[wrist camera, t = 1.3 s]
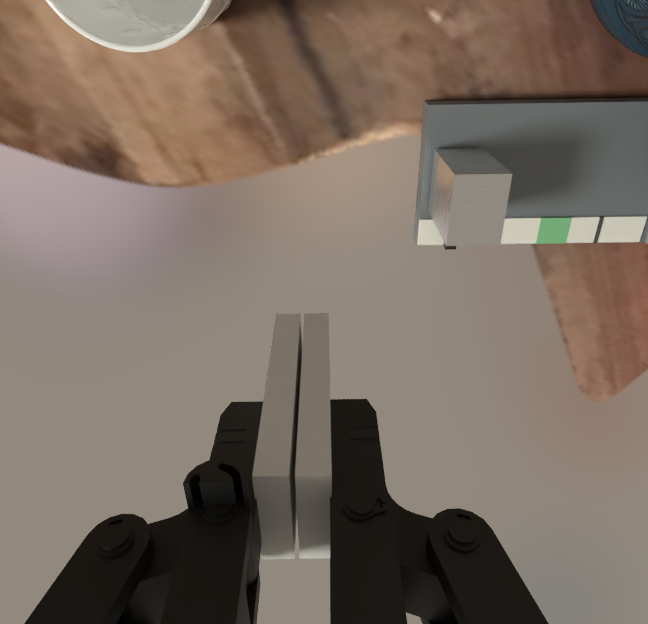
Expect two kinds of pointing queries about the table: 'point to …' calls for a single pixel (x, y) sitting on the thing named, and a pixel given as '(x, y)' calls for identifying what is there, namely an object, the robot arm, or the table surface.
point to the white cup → (138, 20)
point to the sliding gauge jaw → (468, 197)
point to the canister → (625, 22)
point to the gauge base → (550, 165)
